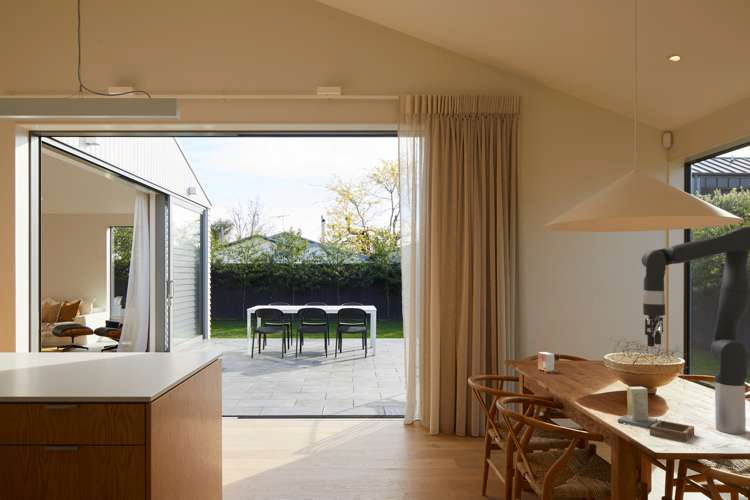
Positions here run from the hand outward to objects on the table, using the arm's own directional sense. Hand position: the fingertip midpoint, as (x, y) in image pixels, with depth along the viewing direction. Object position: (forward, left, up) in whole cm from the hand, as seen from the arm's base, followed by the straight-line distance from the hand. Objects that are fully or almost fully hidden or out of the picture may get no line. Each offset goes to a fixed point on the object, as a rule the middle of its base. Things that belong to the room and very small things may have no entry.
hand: (654, 345), depth 204 cm
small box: (-71, -78, -30) cm, 110 cm away
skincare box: (+1, -6, -29) cm, 30 cm away
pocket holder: (+9, +8, -30) cm, 32 cm away
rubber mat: (+1, -6, -30) cm, 31 cm away
